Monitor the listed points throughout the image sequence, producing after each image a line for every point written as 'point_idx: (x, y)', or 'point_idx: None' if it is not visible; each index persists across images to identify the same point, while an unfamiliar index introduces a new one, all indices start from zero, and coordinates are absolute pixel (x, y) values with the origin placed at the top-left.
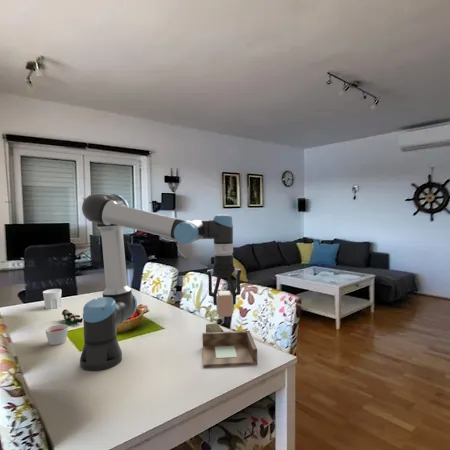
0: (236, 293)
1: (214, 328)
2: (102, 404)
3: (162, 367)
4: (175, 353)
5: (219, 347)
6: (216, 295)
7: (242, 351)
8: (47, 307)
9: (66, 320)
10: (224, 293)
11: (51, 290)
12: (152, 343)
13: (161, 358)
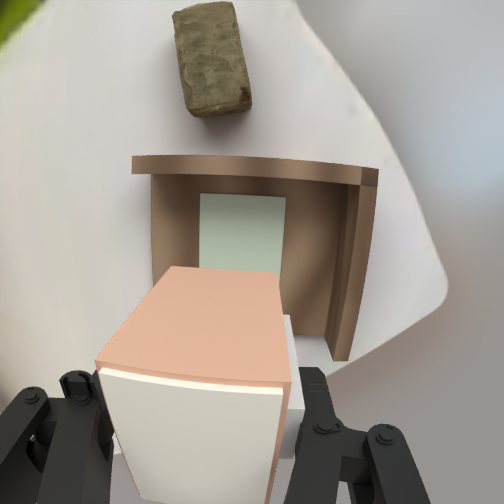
0: (342, 470)
1: (205, 65)
2: (17, 390)
3: (51, 294)
4: (66, 206)
5: (219, 203)
6: (111, 451)
7: (309, 251)
8: None
9: None
10: (194, 477)
11: None
12: (7, 123)
13: (37, 237)
